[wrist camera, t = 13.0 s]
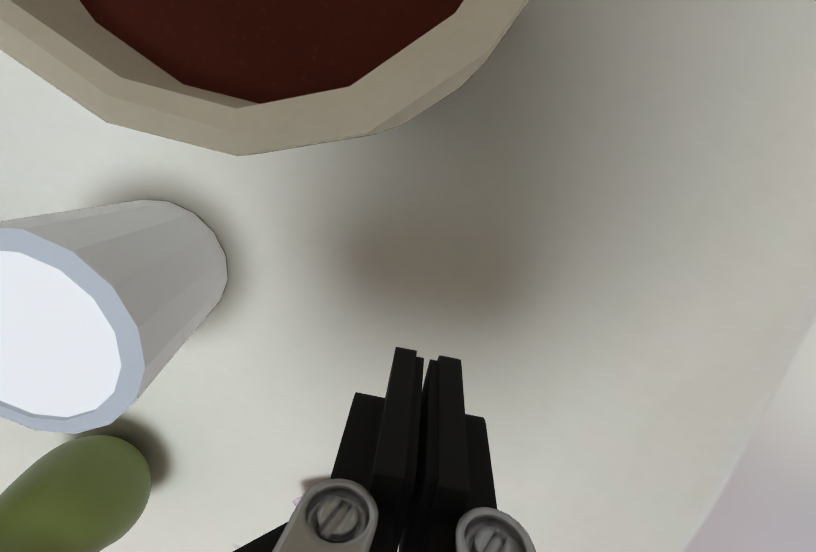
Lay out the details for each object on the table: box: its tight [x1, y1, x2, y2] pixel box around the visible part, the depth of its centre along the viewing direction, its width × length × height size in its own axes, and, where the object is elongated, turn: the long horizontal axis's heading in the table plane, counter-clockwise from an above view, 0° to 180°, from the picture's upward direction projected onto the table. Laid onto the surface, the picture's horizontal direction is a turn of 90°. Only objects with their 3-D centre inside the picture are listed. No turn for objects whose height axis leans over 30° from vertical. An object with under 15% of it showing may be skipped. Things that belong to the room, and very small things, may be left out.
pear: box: [0, 435, 151, 552], centre depth 19 cm, size 6×5×10 cm
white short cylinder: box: [0, 200, 228, 434], centre depth 16 cm, size 7×7×7 cm
